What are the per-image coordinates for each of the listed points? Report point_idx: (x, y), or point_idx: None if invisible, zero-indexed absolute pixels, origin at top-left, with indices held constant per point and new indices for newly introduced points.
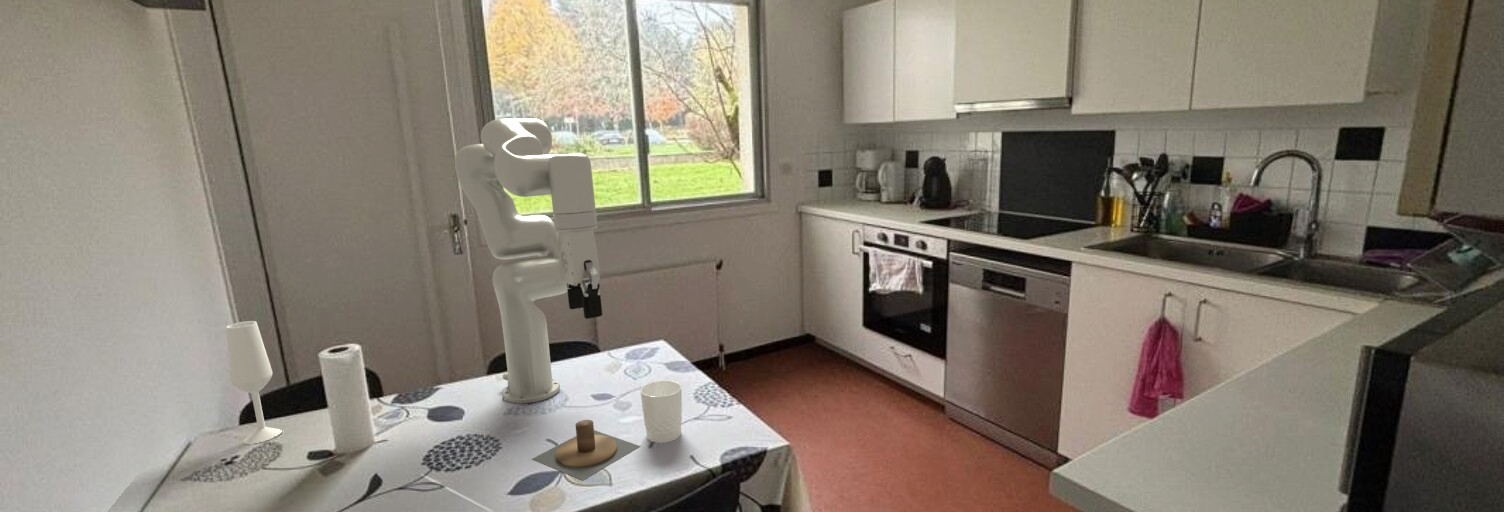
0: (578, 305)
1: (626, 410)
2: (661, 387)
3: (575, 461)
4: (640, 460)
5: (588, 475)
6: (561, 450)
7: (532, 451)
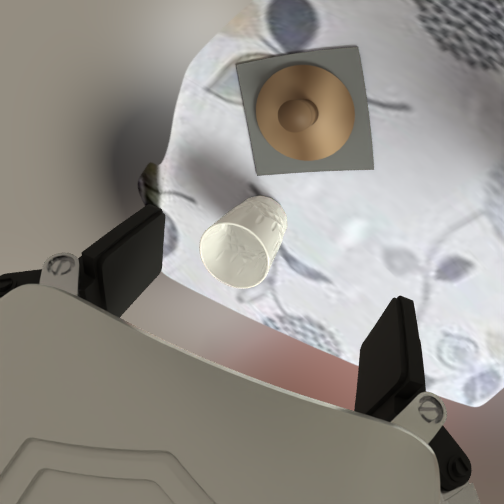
0: (377, 331)
1: (381, 251)
2: (262, 273)
3: (279, 77)
4: (229, 152)
5: (241, 76)
6: (331, 83)
7: (388, 66)
